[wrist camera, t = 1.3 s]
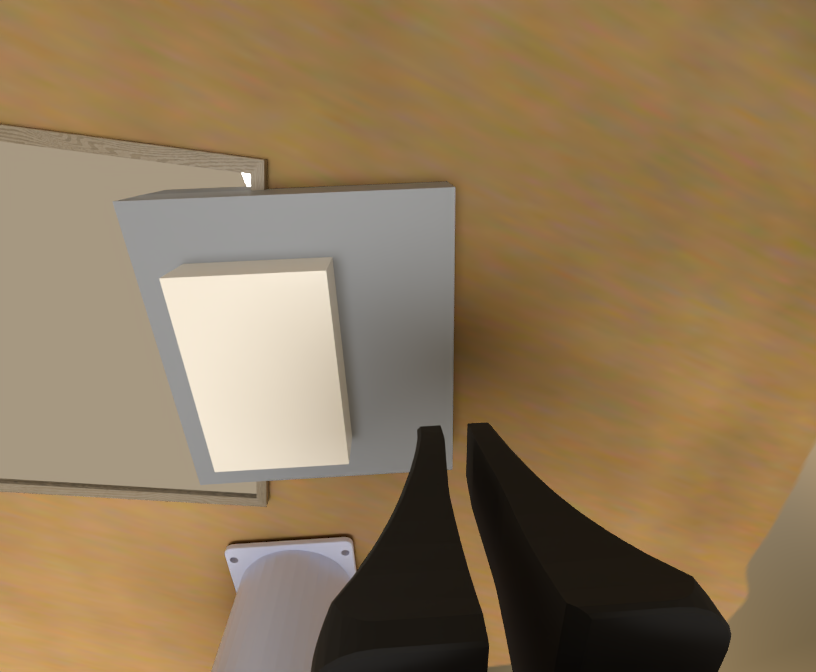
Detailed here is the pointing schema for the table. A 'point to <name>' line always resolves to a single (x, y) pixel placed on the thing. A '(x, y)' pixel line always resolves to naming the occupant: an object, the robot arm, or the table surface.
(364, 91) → the table surface
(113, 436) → the picture frame
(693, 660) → the robot arm
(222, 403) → the tile
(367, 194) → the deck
